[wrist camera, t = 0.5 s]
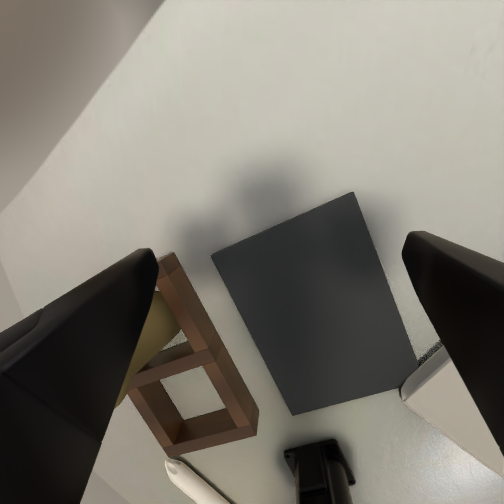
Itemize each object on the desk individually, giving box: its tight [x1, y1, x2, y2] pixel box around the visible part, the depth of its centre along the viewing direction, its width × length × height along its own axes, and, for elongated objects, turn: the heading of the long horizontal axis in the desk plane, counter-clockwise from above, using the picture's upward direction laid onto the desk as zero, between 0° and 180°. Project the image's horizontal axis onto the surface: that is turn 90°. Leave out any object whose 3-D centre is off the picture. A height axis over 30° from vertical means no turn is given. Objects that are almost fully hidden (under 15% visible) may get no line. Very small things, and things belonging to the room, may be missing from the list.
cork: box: [114, 291, 181, 409], centre depth 21 cm, size 6×6×11 cm
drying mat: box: [211, 192, 419, 416], centre depth 24 cm, size 20×14×1 cm
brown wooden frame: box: [127, 252, 259, 458], centre depth 26 cm, size 20×11×3 cm, turn 25°
